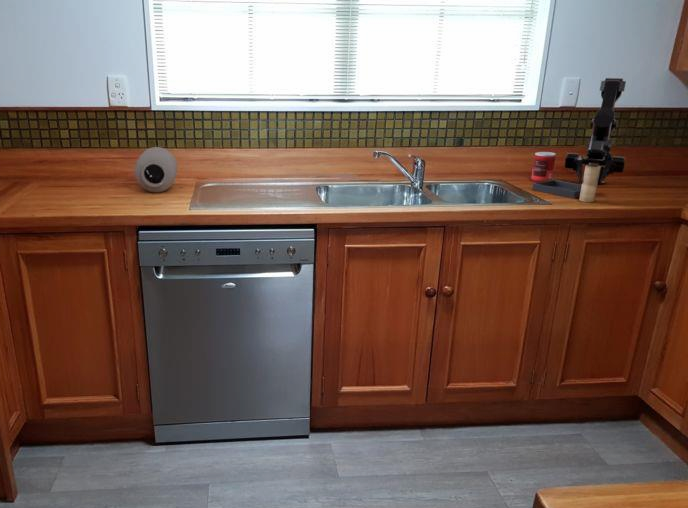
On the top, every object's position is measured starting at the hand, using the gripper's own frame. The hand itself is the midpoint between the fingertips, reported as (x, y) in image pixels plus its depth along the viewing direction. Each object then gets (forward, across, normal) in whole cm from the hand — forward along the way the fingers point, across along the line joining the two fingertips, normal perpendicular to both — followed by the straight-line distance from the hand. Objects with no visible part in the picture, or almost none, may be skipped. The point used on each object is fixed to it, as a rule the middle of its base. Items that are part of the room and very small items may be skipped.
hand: (589, 182), depth 210 cm
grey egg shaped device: (+48, -139, -39) cm, 152 cm away
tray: (-4, -9, +14) cm, 17 cm away
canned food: (-16, -19, +26) cm, 36 cm away
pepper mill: (+4, 0, +6) cm, 7 cm away
